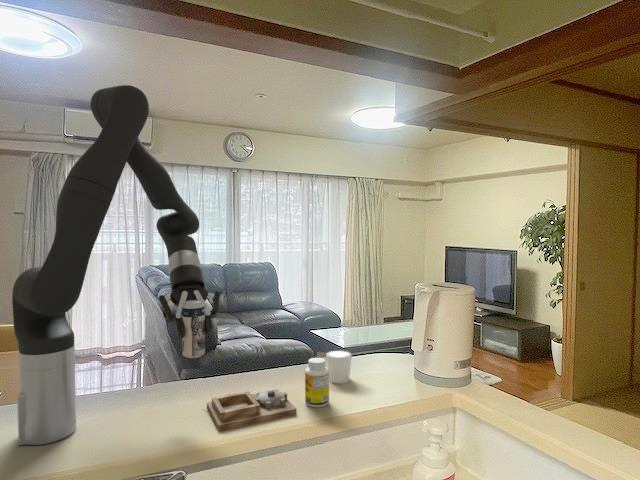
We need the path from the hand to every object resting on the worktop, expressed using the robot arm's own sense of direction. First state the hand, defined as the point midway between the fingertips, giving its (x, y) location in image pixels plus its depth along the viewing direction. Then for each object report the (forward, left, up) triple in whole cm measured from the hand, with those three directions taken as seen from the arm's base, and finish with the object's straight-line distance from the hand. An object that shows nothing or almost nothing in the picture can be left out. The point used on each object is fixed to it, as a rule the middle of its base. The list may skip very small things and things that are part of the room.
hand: (195, 334), depth 90 cm
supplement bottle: (+26, -6, -18) cm, 33 cm away
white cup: (+38, +5, -18) cm, 43 cm away
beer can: (0, +2, -5) cm, 6 cm away
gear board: (+11, -3, -18) cm, 21 cm away
